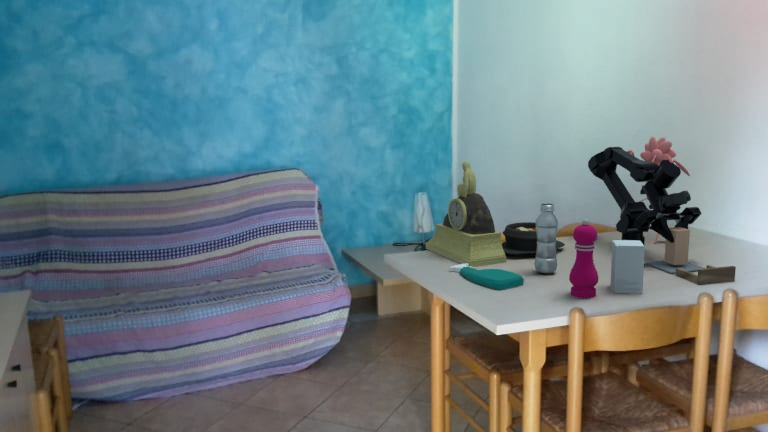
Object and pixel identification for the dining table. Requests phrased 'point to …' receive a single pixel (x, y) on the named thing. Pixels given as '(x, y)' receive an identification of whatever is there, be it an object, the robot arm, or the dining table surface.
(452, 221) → the decorative clock
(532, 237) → the casserole
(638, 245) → the supplement box
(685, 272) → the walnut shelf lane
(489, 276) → the spray bottle
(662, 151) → the pink artificial flower
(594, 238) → the pepper mill
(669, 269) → the slate rubber mat
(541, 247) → the plastic bottle
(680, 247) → the peach block
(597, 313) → the dining table surface
